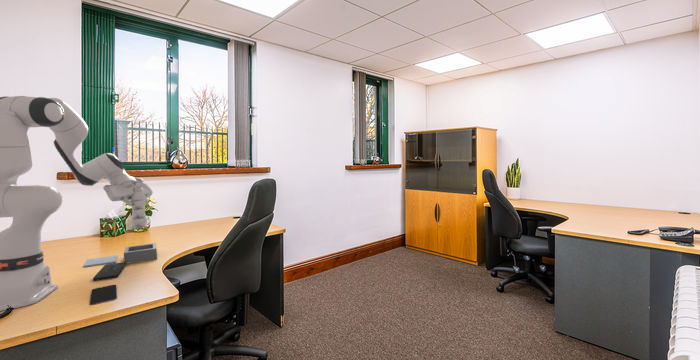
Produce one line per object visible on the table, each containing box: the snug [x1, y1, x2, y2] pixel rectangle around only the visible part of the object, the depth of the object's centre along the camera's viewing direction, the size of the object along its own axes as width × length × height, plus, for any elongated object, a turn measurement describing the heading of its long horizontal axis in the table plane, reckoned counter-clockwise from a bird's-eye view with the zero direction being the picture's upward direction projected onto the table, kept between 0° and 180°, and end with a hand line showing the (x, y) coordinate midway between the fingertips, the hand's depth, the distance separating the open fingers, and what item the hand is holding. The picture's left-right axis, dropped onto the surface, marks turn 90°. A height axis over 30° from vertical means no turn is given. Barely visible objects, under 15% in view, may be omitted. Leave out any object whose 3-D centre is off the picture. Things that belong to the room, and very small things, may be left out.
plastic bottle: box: [130, 187, 148, 229], centre depth 153 cm, size 6×7×20 cm
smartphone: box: [89, 284, 118, 306], centre depth 109 cm, size 7×1×15 cm
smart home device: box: [92, 261, 128, 282], centre depth 134 cm, size 8×2×20 cm
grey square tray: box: [123, 242, 158, 264], centre depth 154 cm, size 13×13×5 cm
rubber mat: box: [82, 255, 119, 268], centre depth 149 cm, size 12×12×1 cm
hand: (139, 204), depth 152 cm, fingers closed on plastic bottle, 6 cm apart
